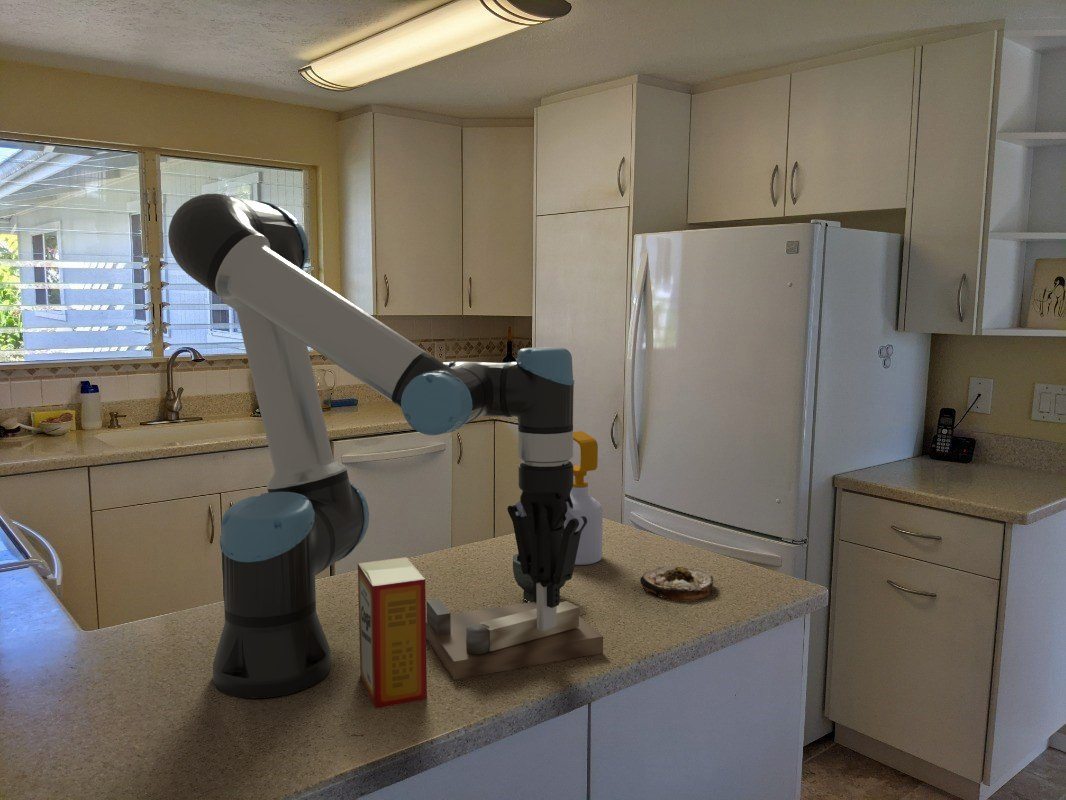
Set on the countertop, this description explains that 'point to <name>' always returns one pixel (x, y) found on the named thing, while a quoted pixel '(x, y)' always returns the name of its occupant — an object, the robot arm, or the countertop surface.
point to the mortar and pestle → (524, 579)
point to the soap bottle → (587, 502)
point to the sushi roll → (677, 583)
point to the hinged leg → (517, 629)
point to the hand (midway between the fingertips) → (546, 627)
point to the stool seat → (451, 647)
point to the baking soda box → (392, 631)
